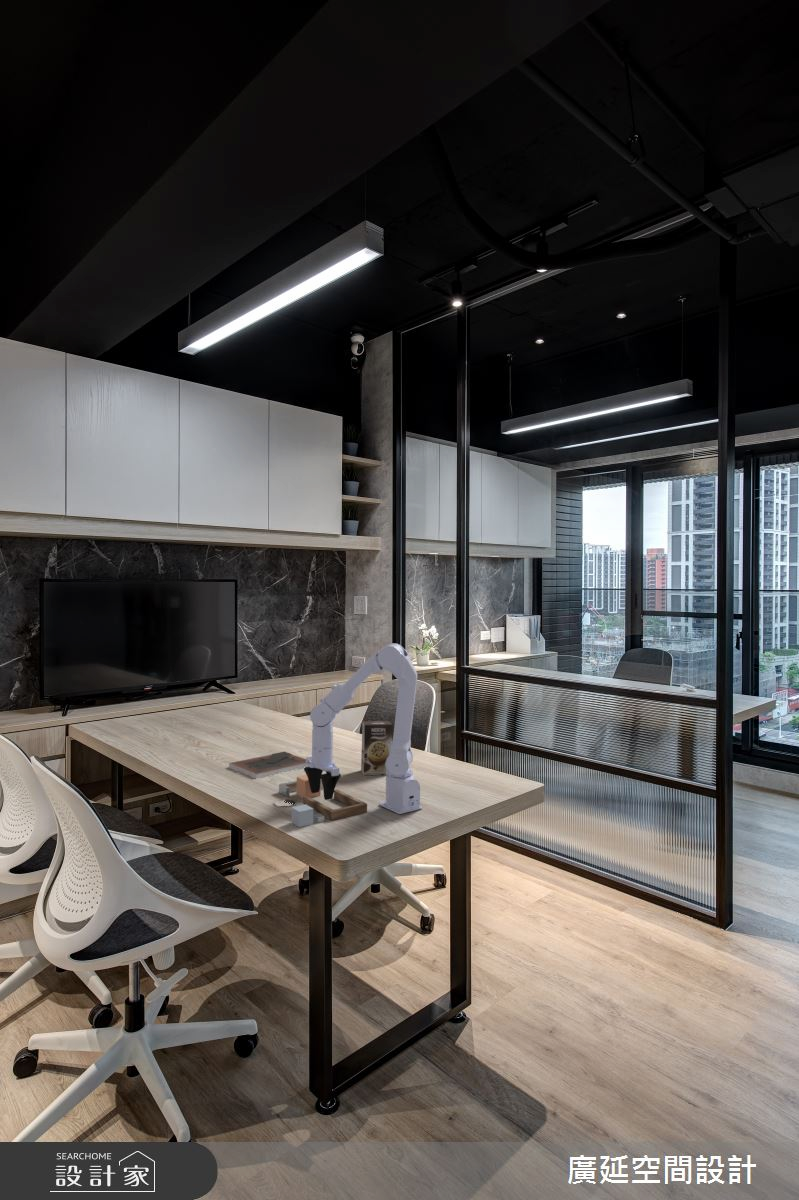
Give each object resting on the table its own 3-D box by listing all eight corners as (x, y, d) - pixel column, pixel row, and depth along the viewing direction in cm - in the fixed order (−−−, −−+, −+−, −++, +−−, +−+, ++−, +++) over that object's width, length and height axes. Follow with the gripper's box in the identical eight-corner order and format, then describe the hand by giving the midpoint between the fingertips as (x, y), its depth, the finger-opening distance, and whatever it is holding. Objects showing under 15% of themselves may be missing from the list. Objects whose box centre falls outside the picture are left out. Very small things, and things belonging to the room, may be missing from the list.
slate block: (313, 824, 164) (313, 808, 163) (299, 827, 161) (299, 811, 161) (305, 819, 167) (305, 804, 167) (291, 823, 164) (291, 807, 164)
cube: (320, 795, 186) (320, 778, 186) (305, 798, 183) (305, 781, 183) (311, 791, 190) (311, 773, 190) (296, 794, 187) (296, 776, 187)
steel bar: (324, 822, 165) (324, 815, 165) (318, 824, 164) (318, 817, 164) (301, 809, 175) (301, 802, 175) (295, 810, 174) (295, 804, 174)
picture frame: (284, 758, 228) (229, 769, 213) (284, 751, 228) (229, 762, 213) (313, 768, 216) (256, 781, 201) (313, 760, 216) (256, 773, 201)
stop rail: (323, 789, 192) (323, 781, 192) (286, 796, 184) (286, 788, 184) (315, 785, 195) (315, 777, 195) (278, 792, 188) (279, 784, 188)
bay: (367, 811, 173) (367, 803, 173) (331, 820, 166) (331, 811, 166) (337, 797, 184) (337, 789, 184) (303, 804, 178) (303, 796, 178)
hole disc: (299, 804, 178) (299, 803, 178) (279, 808, 174) (279, 808, 174) (289, 798, 183) (289, 797, 183) (269, 802, 179) (269, 802, 179)
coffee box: (363, 775, 206) (364, 724, 205) (360, 770, 212) (361, 720, 212) (392, 774, 208) (392, 724, 207) (388, 769, 214) (389, 719, 214)
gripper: (296, 743, 184) (296, 791, 184) (323, 754, 172) (322, 805, 172) (318, 740, 188) (317, 787, 188) (346, 750, 176) (345, 800, 177)
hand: (321, 795), depth 181 cm, fingers open, 6 cm apart
